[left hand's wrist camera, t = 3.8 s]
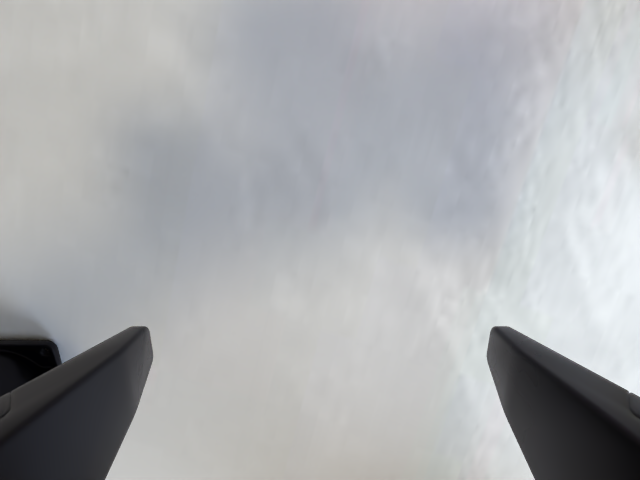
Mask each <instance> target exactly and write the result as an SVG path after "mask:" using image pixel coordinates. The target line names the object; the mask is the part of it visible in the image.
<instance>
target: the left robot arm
mask: <svg viewBox="0 0 640 480" xmlns="http://www.w3.org/2000/svg"><path fill="white" fill-rule="evenodd" d="M45 348H46V349H48V350H49V351H47V350H46V349H45ZM152 361H153V350H152V344H151V338H150V332H149V329H148V328H147V327H145V326H133V327H130V328H128V329H126V330H124V331H122V332H120V333H118V334H117V335H115V336H113V337H111V338H109V339H107V340H105V341H104V342H102V343H100V344H98V345H96V346H94V347H92V348H91V349H89V350H87V351H85V352H83V353H81V354H79V355H78V356H76V357H74V358H72V359H70V360H68V361H66V362H65V363H63V364H62V363H61V359H60V355H59V351H58V347H57V345H56V344H55V343H53V342H51V341H40V340H0V480H105V478H106V476H107V474H108V472H109V470H110V468H111V465H112V463H113V461H114V459H115V457H116V454H117V452H118V450H119V448H120V446H121V444H122V441H123V439H124V437H125V435H126V433H127V431H128V428H129V426H130V424H131V422H132V420H133V417H134V415H135V413H136V410H137V407H138V404H139V401H140V398H141V395H142V392H143V389H144V386H145V383H146V380H147V377H148V374H149V371H150V368H151V365H152ZM487 361H488V365H489V368H490V371H491V374H492V377H493V380H494V383H495V386H496V389H497V392H498V395H499V398H500V401H501V404H502V407H503V410H504V413H505V415H506V417H507V420H508V422H509V424H510V426H511V428H512V431H513V433H514V435H515V437H516V439H517V441H518V444H519V446H520V448H521V450H522V452H523V454H524V457H525V459H526V461H527V463H528V465H529V468H530V470H531V472H532V474H533V476H534V478H535V480H640V397H639V396H637V395H635V394H633V393H629V391H627V390H626V389H624V388H622V387H620V386H618V385H616V384H614V383H613V382H611V381H609V380H607V379H605V378H603V377H601V376H600V375H598V374H596V373H594V372H592V371H590V370H588V369H587V368H585V367H583V366H581V365H579V364H577V363H575V362H574V361H572V360H570V359H568V358H566V357H564V356H562V355H561V354H559V353H557V352H555V351H553V350H551V349H549V348H548V347H546V346H544V345H542V344H540V343H538V342H536V341H535V340H533V339H531V338H529V337H527V336H525V335H523V334H522V333H520V332H518V331H516V330H514V329H512V328H510V327H507V326H495V327H493V328H492V329H491V332H490V338H489V344H488V350H487Z"/></svg>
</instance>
